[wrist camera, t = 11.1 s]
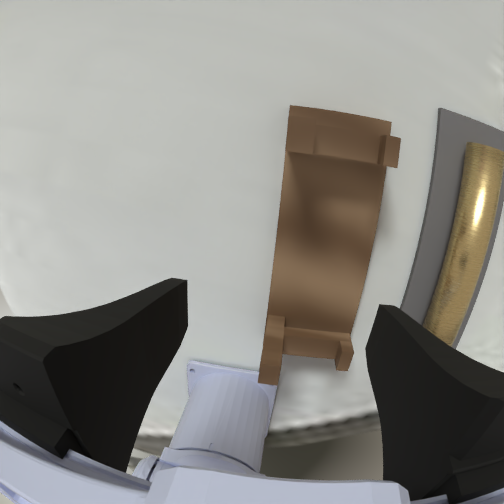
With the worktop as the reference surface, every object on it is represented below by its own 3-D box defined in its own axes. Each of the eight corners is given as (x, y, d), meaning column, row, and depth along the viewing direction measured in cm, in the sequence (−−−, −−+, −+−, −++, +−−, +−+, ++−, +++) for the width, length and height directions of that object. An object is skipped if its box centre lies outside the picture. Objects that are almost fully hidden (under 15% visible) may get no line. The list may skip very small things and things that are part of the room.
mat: (443, 367, 23) (445, 370, 22) (378, 367, 23) (379, 370, 23) (508, 135, 16) (511, 135, 15) (438, 108, 16) (440, 107, 16)
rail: (436, 354, 22) (443, 376, 19) (406, 350, 22) (411, 373, 20) (493, 153, 16) (512, 154, 13) (460, 142, 17) (477, 141, 14)
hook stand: (343, 346, 23) (353, 404, 17) (264, 337, 24) (253, 395, 18) (386, 123, 17) (426, 115, 11) (290, 107, 18) (288, 88, 12)
